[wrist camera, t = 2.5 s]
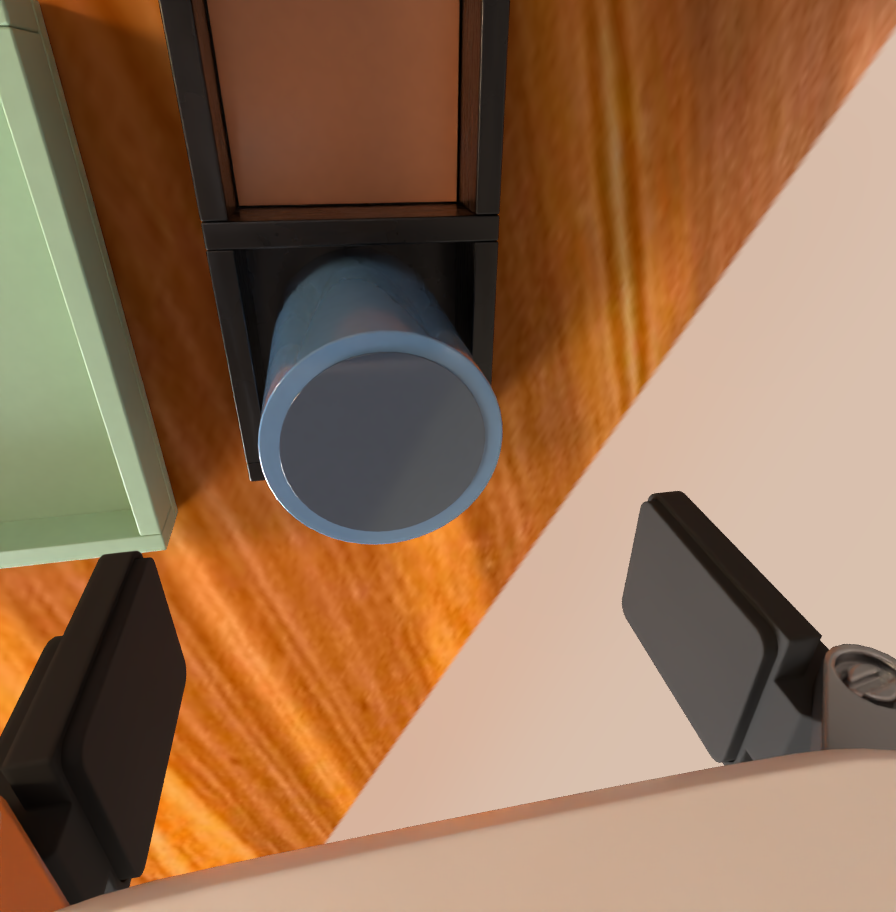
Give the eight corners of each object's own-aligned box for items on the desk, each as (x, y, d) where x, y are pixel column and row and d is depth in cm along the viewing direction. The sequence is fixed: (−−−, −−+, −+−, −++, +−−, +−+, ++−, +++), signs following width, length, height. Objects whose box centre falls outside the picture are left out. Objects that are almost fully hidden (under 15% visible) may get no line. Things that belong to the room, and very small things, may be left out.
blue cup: (263, 249, 21) (237, 339, 13) (440, 244, 22) (511, 324, 14) (286, 411, 24) (276, 559, 16) (439, 399, 25) (497, 532, 17)
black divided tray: (156, -126, 16) (124, -172, 13) (485, -104, 18) (518, -141, 15) (256, 439, 25) (249, 482, 22) (468, 421, 26) (488, 459, 24)
